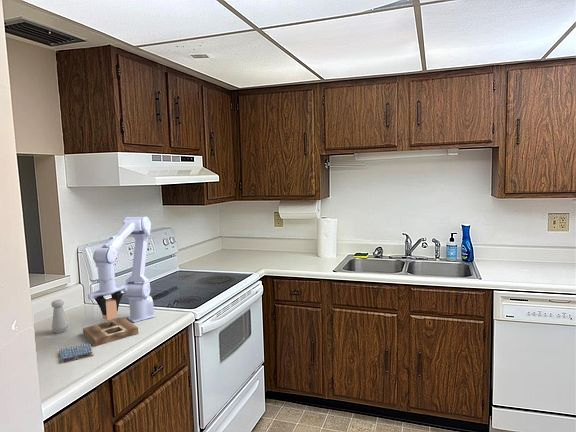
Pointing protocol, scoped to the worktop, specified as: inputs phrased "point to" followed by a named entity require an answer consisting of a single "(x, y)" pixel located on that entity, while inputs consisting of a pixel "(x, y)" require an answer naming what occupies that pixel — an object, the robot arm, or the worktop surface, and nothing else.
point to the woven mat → (76, 353)
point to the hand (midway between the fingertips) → (110, 312)
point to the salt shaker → (59, 317)
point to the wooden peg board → (110, 331)
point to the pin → (110, 309)
